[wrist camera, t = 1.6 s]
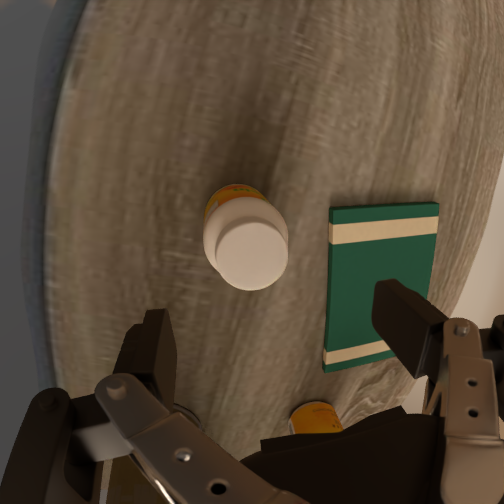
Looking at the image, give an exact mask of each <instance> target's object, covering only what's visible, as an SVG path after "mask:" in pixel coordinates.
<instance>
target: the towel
mask: <svg viewBox="0 0 504 504" xmlns="http://www.w3.org/2000/svg"><path fill="white" fill-rule="evenodd" d="M438 214H439V203H436V202H414V203H394V204H376V205H360V206H345V207H331V208H329V261H328V290H327V310H326V327H325V342H324V352H323V367H322V368H323V370H324V372H325V373H329V372H334V371H338V370H343V369H347V368H351V367H356V366H360V365H364V364H368V363H372V362H376V361H379V360H383V359H387V358H390V357H394V356H396V355H395V354H394V353H393V352H392V350H391V349H390V348H389V347H388V345H387V344H386V343H385V342H384V341H383V339H382V338H381V337H380V336H379V334H378V333H377V332H376V331H375V329H374V328H373V325H372V320H371V314H372V306H373V297H374V288H375V284H376V282H377V281H380V280H386V279H391V278H395V279H397V280H398V281H399V282H400V283H402V284H403V285H404V286H405V287H407V288H409V289H411V290H413V291H416V292H418V293H419V294H420V295H421V296H423V297H424V298H425V300H426V299H427V294H428V289H429V283H430V277H431V271H432V265H433V258H434V251H435V243H436V234H437V228H438V218H439V216H438Z"/></svg>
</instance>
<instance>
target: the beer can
mask: <svg viewBox="0 0 504 504" xmlns="http://www.w3.org/2000/svg"><path fill="white" fill-rule="evenodd" d="M288 426H289V429H290V433H291V435H292V434H298V433H333V432H340V431H342V430H343V427H342V425H341V423H340V421H339V419H338V416H337V414H336V412H335V410H334V408H333V407H332V406H331V405H329V404H326V403H324V402H320V401H314V402H309V403H306V404H304V405H302V406H300V407H298V408H297V409H296V410H295V411H294V412H293V414H292V416H291V417H290V419H289V422H288Z"/></svg>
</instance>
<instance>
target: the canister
mask: <svg viewBox="0 0 504 504" xmlns="http://www.w3.org/2000/svg"><path fill="white" fill-rule="evenodd" d="M175 411H179V412H180V413H182V414H183V415H184V416H185V417H186V418H188V419H189V420H190V421H191V422H192V423H193V424H194V425H195V426H197V427H198V428H199V429H200V430H201V431H202V426H201V424H200V422H199V420H198V419H197V418H196V417H195V416H194V415H193V414H192V413H191V412H190V411H188V410H186V409H185V408H183V407H181V406H179V405H175V404H173V412H175ZM106 504H167V503H166V501H165V500H164V499H163V498H162V496H161V495H160V494H159V493H158V492H157V490H156V489H155V488H154V487H153V486H152V485H151V483H150V482H149V481H148V480H147V479H146V477H145V476H144V475H143V474H142V473H141V471H140V470H139V469H138V468H137V466H136V465H135V464H134V462H133V461H132V460H131V459H130V457H129V456H128V455H125V456H121V457H117V458H113V463H112V468H111V474H110V480H109V487H108V493H107V500H106Z"/></svg>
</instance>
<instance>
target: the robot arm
mask: <svg viewBox="0 0 504 504" xmlns="http://www.w3.org/2000/svg"><path fill="white" fill-rule="evenodd" d="M371 320H372V325H373V328H374V329H375V331H376V332H377V333H378V334H379V336H380V337H381V338H382V339H383V341H384V342H385V343H386V344H387V345H388V347H389V348H390V349H391V350H392V352H393V353H394V354H395V355H396V356H397V358H398V359H399V360H400V361H401V363H402V364H403V365H404V366H405V368H406V369H407V370H408V371H409V373H410V374H411V375H412V376H413V378H414V379H417V378H419V377H422V376H425V375H427V376H428V379H427V382H426V388H425V396H424V403H423V409H422V414H407V413H406V412H405V410H404V409H403V408H402V406H401V405H400V406H397V407H395V408H392V409H389V410H386V411H382V412H379V413H376V414H373V415H370V416H368V417H367V418H365V419H363V420H361V421H359V422H358V423H356V424H354V425H352V426H350V427H348V428H346V429H344V430H342V431H340V432H333V433H298V434H292V435H287V436H282V437H276V438H270V439H264V440H260V443H261V451H259V452H256V453H254V454H252V455H249V456H247V457H245V458H244V459H242V460H241V461H238V460H236V459H235V458H234V457H233V456H231V455H230V454H229V453H228V452H226V451H225V450H224V449H223V448H221V447H220V446H219V445H218V444H216V443H215V442H214V441H213V440H212V439H210V438H209V437H208V436H207V435H206V434H205V433H203V432H202V431H201V430H200V429H199V428H198V427H197V426H195V425H194V424H193V423H192V422H191V421H190V420H189V419H188V418H186V417H185V416H184V415H183V414H182V413H180V412H179V411H175V412H173V404H174V390H175V378H176V366H177V349H176V343H175V339H174V335H173V330H172V326H171V321H170V317H169V313H168V310H167V308H163V309H152V310H147V311H146V314H145V317H144V320H143V323H142V324H134V325H133V326H132V327H131V328H130V329H129V330H128V331H127V332H126V335H125V338H124V341H123V342H124V343H123V344H122V347H121V351H120V353H119V355H118V358H117V361H116V364H115V368H114V371H113V374H112V375H109V376H107V377H105V378H104V379H102V380H101V381H100V382H99V383H98V384H97V386H96V388H95V393H94V394H91V395H87V396H83V397H78V398H74V399H71V398H70V397H69V395H68V393H67V392H66V391H65V390H63V389H61V388H48V389H45V390H43V391H41V392H39V393H38V394H37V395H36V396H35V397H34V398H33V399H32V401H31V403H30V405H29V408H28V410H27V413H26V415H25V417H24V420H23V422H22V425H21V427H20V430H19V433H18V435H17V438H16V441H15V443H14V446H13V449H12V452H11V454H10V458H9V460H8V463H7V466H6V469H5V473H4V476H3V479H2V482H1V486H0V504H99V500H100V490H101V480H102V472H103V464H104V460H108V459H112V458H117V457H121V456H125V455H128V456H129V457H130V459H131V460H132V461H133V462H134V464H135V465H136V466H137V468H138V469H139V470H140V471H141V473H142V474H143V475H144V476H145V477H146V479H147V480H148V481H149V482H150V483H151V485H152V486H153V487H154V488H155V489H156V490H157V492H158V493H159V494H160V495H161V496H162V498H163V499H164V500H165V501H166V503H167V504H504V440H503V439H500V434H499V417H500V418H501V419H502V420H503V422H504V315H498V316H496V317H495V318H494V321H493V324H492V327H491V328H486V329H478V327H477V325H476V324H474V323H473V322H472V321H470V320H467V319H464V318H450V319H449V318H448V317H447V316H446V315H444V314H443V313H442V312H441V311H440V310H438V309H437V308H436V307H435V306H434V305H431V303H430V302H429V301H428V300H425V298H424V297H423V296H421V295H420V294H419V293H418V292H416V291H413V290H411V289H409V288H407V287H405V286H404V285H403V284H402V283H400V282H399V281H398V280H397V279H395V278H391V279H386V280H380V281H377V282H376V284H375V288H374V297H373V306H372V314H371Z"/></svg>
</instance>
